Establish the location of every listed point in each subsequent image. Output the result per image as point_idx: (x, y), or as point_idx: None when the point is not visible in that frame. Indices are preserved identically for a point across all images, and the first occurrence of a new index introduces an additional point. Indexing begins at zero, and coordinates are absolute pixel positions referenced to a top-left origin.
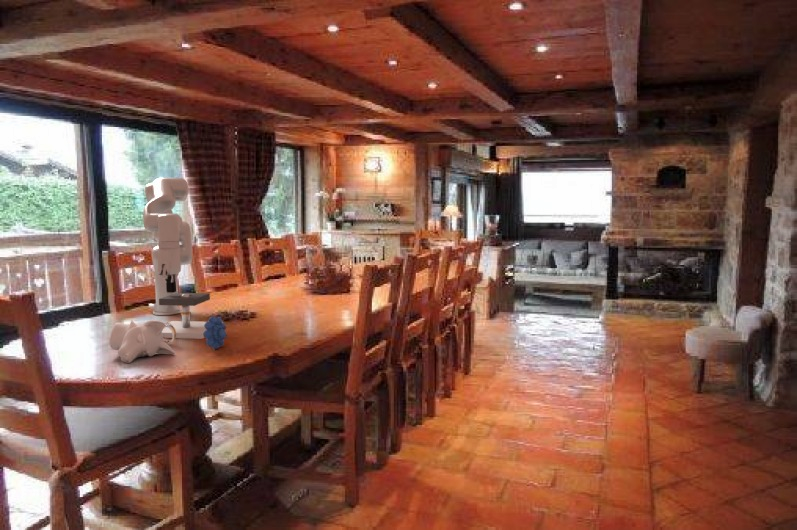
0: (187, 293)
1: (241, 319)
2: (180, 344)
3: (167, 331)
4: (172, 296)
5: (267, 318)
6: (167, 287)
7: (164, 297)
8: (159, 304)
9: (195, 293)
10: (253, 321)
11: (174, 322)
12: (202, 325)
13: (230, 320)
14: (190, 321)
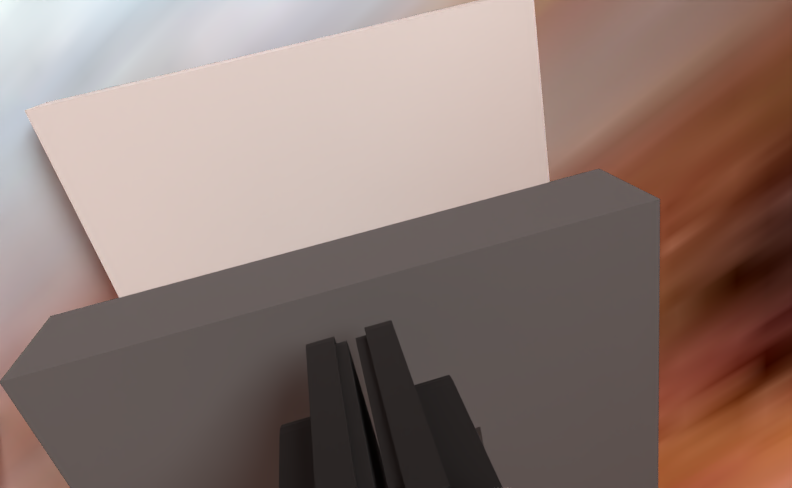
0: (609, 402)
1: (763, 346)
2: (41, 472)
3: (154, 269)
4: (305, 406)
5: (787, 451)
6: (281, 467)
7: (160, 369)
8: (50, 325)
9: (622, 486)
10: (710, 436)
11: (476, 67)
12: None
13: (734, 304)
14: (542, 181)
